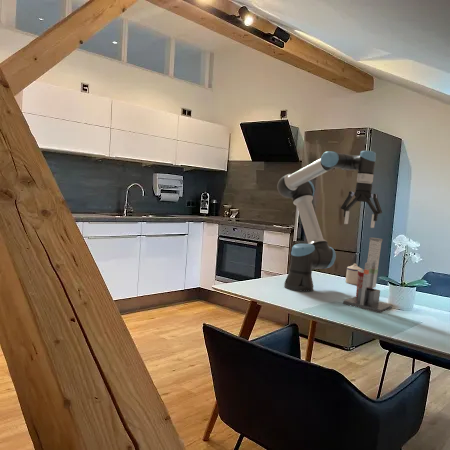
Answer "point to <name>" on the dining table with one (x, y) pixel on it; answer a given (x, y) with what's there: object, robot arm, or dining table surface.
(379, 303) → the stand
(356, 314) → the dining table surface
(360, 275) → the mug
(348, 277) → the teacup with lid
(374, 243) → the column
